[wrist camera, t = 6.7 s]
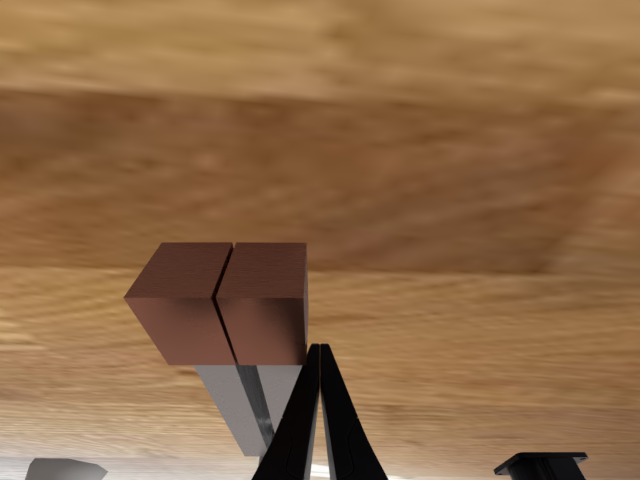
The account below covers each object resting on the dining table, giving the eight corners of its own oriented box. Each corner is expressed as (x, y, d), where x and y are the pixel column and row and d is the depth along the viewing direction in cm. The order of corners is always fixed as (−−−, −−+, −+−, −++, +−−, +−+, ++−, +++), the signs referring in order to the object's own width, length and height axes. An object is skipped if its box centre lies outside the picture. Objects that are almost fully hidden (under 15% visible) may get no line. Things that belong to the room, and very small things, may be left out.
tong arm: (312, 440, 24) (311, 483, 22) (264, 440, 24) (259, 483, 22) (306, 242, 10) (302, 303, 8) (195, 242, 10) (162, 302, 8)
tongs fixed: (296, 455, 27) (294, 491, 25) (258, 455, 27) (253, 491, 25) (259, 242, 10) (244, 297, 8) (161, 242, 10) (123, 297, 8)
